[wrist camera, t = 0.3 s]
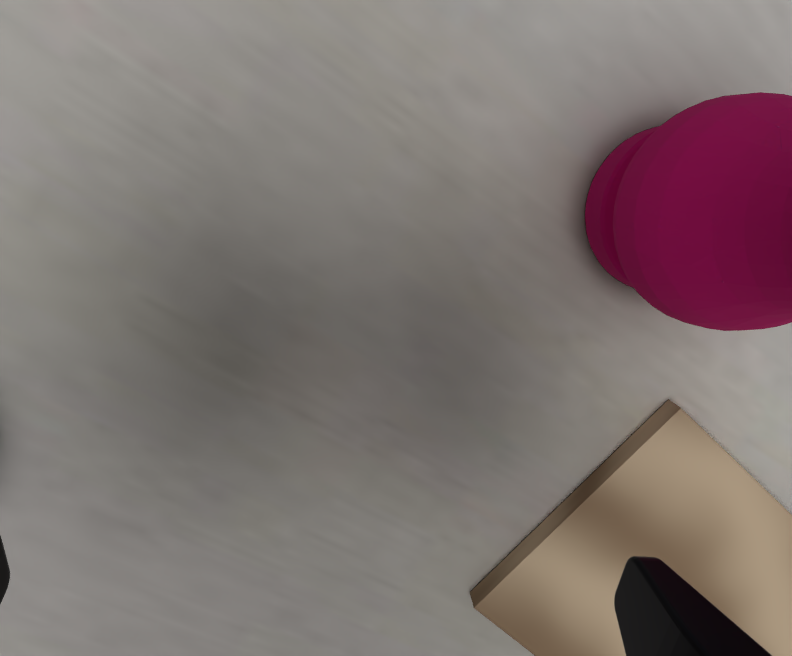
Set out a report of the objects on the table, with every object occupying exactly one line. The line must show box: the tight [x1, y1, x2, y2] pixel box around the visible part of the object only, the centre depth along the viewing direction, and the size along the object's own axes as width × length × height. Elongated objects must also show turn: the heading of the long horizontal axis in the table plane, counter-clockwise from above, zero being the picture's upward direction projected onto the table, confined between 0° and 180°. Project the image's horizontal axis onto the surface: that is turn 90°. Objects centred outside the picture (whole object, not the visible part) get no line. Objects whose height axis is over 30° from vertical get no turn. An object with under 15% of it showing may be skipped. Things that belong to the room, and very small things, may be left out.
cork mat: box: [470, 400, 792, 656], centre depth 27 cm, size 12×14×1 cm
